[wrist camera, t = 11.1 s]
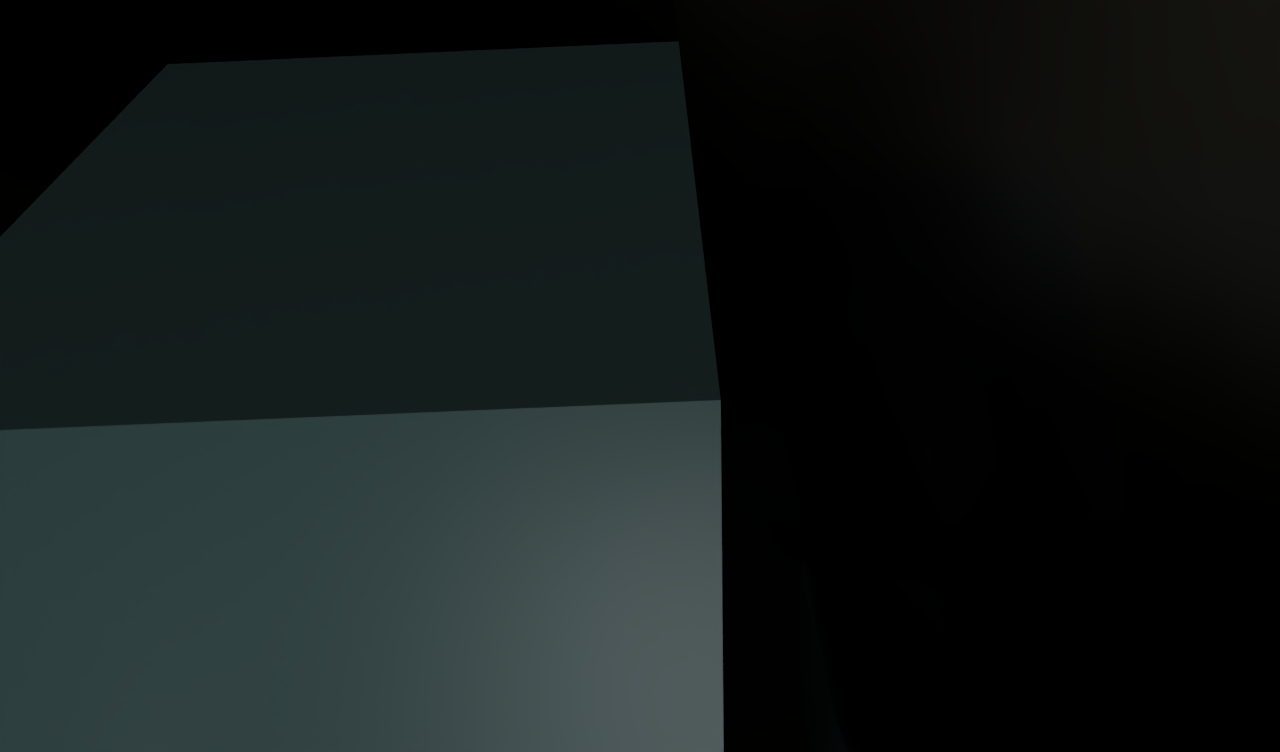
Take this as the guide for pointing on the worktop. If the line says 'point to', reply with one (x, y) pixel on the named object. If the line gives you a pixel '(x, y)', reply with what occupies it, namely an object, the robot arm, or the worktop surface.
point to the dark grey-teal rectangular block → (366, 415)
